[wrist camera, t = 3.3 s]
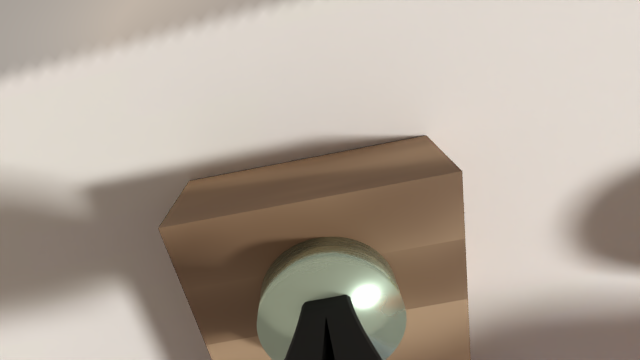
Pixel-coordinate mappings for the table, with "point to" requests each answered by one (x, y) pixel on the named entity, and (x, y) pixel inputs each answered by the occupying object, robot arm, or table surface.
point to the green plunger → (330, 292)
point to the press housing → (327, 221)
